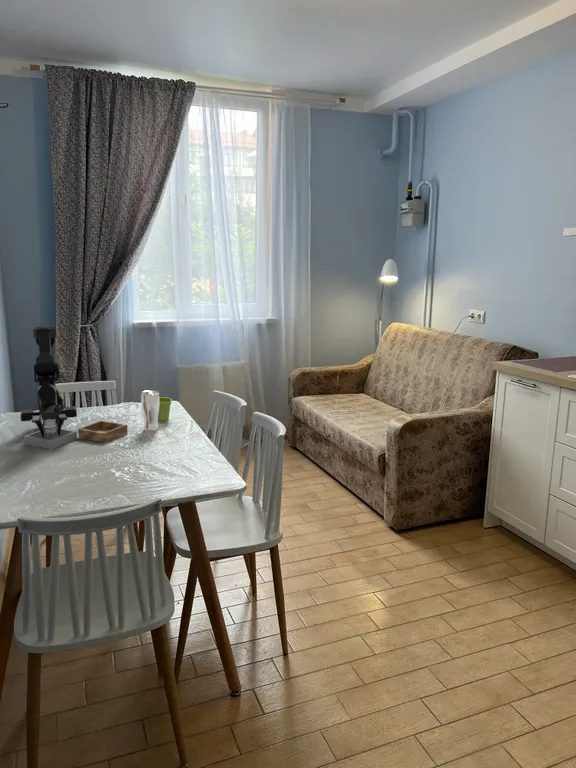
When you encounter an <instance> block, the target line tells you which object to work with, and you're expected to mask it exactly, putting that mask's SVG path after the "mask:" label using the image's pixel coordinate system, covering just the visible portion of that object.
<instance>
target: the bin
mask: <svg viewBox="0 0 576 768" xmlns="http://www.w3.org/2000/svg"><path fill="white" fill-rule="evenodd" d="M57 430H58V427H57ZM43 431H44V430H43ZM77 431H78V430H77ZM77 431H76V430H70V429H67V428H65V429H64V428H61V430H60V434H59V436H58V438H55V439H52V440H47V439H44V437H43V436H42V434H41V432H40V430H38V431H35V432H31V433H28V434H25V435H24V437H23V438H24V444H25V445H28V446H33V447H38V448H43V449H44V448H45V449H49V450H52V449H55V448H59V447H60V446H64V445H67V444H68V443H71V442H73V441H77V440H78V432H77Z"/></svg>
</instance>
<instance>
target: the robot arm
mask: <svg viewBox="0 0 576 768" xmlns="http://www.w3.org/2000/svg"><path fill="white" fill-rule="evenodd" d="M32 332H33V333H32V334H33V335H32V338H33V339H35V343H36V344H37V346H38V353H39V354H38V355H37V357H36V358H35V363H34V364H33V374H34V375H33V376H34V377H33V378H34V379H33V380H34V383H38V385H37V386H38V388H37V401H38V411H34V409H33V408H32V409H22V411H20V422H30V421H31V423H34V424H35V425H36V426H37V428H38V431H40V432H41V434H42V436H43V437H44V431H43V426H44V425H45V424H44V420H50V419H52V420H54V419H56V423H55V424H57V428H58V436H59V434H60V430H61V429H62V426H63V425H64V424H65V423H64V422H65V421H67V420H68V419H69V418H77V417H78V412H77V411H78V410H77V407H76V406H74V405H73V406H65V405H64V404H65V403H64V398H62V396H61V395H60V391H59V389H58V388H57V383H56V382H58V380H59V379H60V366H59V365H58V364H59V363H57V362H55V360H56V359H55V357H54V355H53V350H52V349H53V348H54V345H55V343H56V339H57V338H58V335H57V334H58V333H57V328H54V326H53V325H45V326H36V328H33V329H32ZM64 406H65V407H64Z"/></svg>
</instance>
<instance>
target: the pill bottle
mask: <svg viewBox="0 0 576 768" xmlns="http://www.w3.org/2000/svg"><path fill="white" fill-rule="evenodd" d="M55 423H56V419H54V420H52V419H50V420H44V424H45V425H44V426H43V430H44V438H43V439H47V440H52V439H55V438H58V430H57V428H58V426H57V424H55Z"/></svg>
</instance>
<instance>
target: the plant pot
mask: <svg viewBox="0 0 576 768" xmlns="http://www.w3.org/2000/svg"><path fill="white" fill-rule="evenodd" d="M159 400H160V407H159V415H158V423H162V422H168V421H169V420H170V419H169V418H170V413H171V412H170V410H171V406H172V405H171V404H172V402H173V399H172V398H170V397H163V396H162V397H160V396H159Z"/></svg>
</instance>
